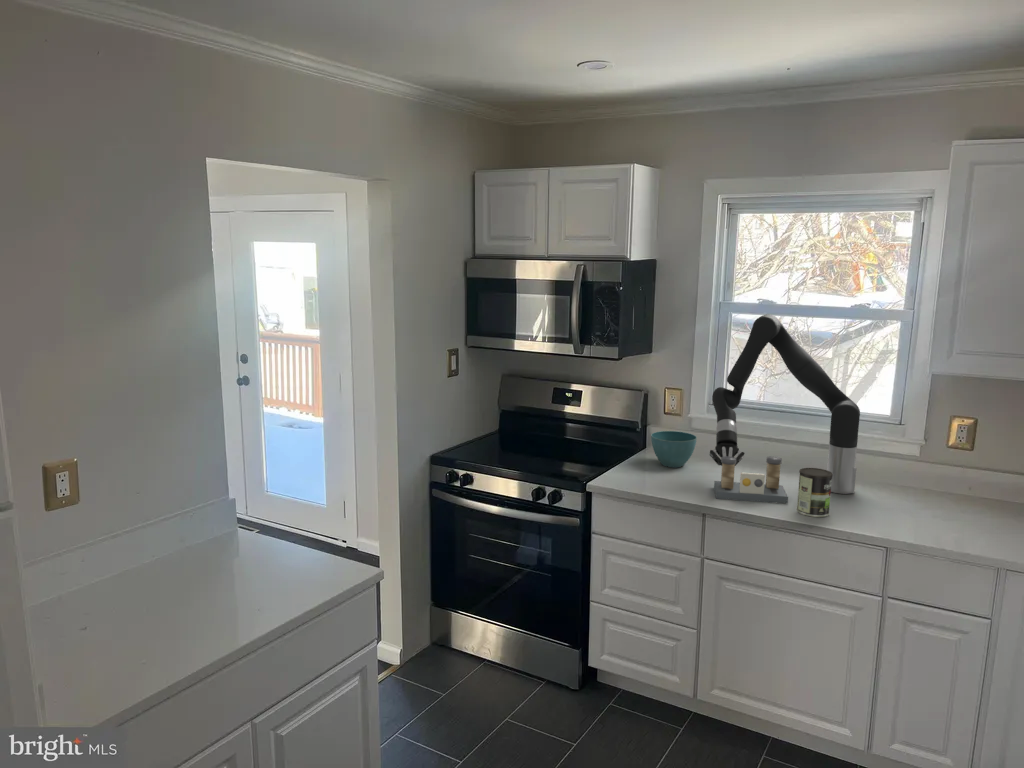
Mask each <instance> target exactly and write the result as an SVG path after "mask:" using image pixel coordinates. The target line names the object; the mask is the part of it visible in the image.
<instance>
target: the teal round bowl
mask: <svg viewBox="0 0 1024 768" xmlns="http://www.w3.org/2000/svg"><path fill="white" fill-rule="evenodd" d="M697 438H698V437H697V435H694V434H692V433H689V432H684V431H676V430H675V431H674V430H662V431H655V432H653V433H651V434H650V439H651V446H652V449H653V452H654V454H655V457H656V458H657V459H658V461H659V462H660V464H661V465H663V466H664V467H667V466H668V468H681V466H682V467H684V465H686V463H687V462H688V461H689V459H690V458H691V457H692V455H693V453H694V450H695V447H696V445H697V440H698V439H697Z"/></svg>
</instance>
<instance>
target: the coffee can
mask: <svg viewBox="0 0 1024 768" xmlns="http://www.w3.org/2000/svg"><path fill="white" fill-rule="evenodd" d="M798 473H799V477H798V478H799V479H798V489H797V491H798V492H797V504H796V512H797V513H799V514H801V515H804V516H805V517H806V516H807V517H813V518H824V517H827V516H829V515H830V505H831V503H830V502H831V493H832V492H831V483H832V476H833V474H832V472H830V471H827V469H823V468H820V467H819V468H817V467H804V468H803V467H802V468H800V469H799V472H798Z"/></svg>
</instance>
